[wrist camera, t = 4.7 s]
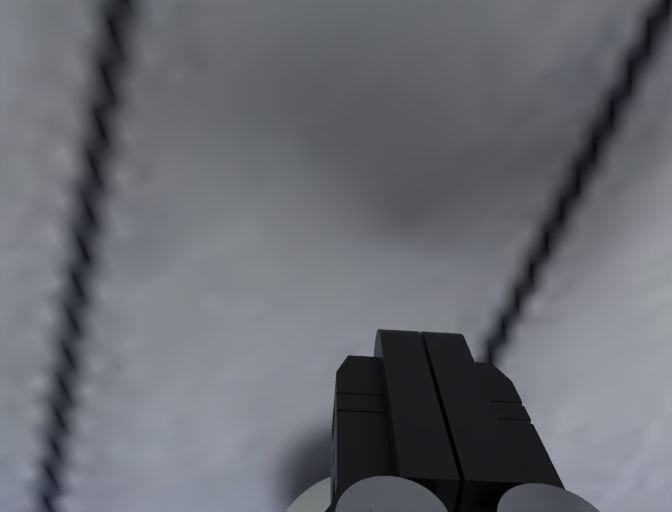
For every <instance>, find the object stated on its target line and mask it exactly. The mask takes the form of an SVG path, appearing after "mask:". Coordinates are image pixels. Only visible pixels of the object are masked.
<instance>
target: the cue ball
mask: <svg viewBox="0 0 672 512" xmlns="http://www.w3.org/2000/svg"><path fill="white" fill-rule="evenodd" d="M330 489H331V477H328V478H326V479H324V480H322V481H320V482H318V483H316V484H314V485H313V486H311V487H310V488H308V489H307V490H306V491H305V492H303V493H302V494H301V495H300V496H299V497H297V498H296V499H295V501H294V502H293V503H292V504H291V505H290V506H289V507H288V509H287V510H286V511H285V512H325V511H326V510H327V508H328V507H329V506H330Z"/></svg>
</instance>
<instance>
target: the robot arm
mask: <svg viewBox="0 0 672 512" xmlns="http://www.w3.org/2000/svg"><path fill="white" fill-rule="evenodd" d="M325 512H600V511H599V510H598V509H596V508H595V507H594V506H593V505H592V504H590V503H589V502H587V501H586V500H584V499H583V498H581V497H579V496H578V495H576V494H574V493H572V492H570V491H567V490H565V488H564V486H563V484H562V482H561V480H560V478H559V476H558V474H557V472H556V470H555V468H554V466H553V464H552V462H551V460H550V458H549V455H548V453H547V451H546V449H545V447H544V445H543V443H542V441H541V439H540V437H539V435H538V433H537V431H536V429H535V427H534V425H533V424H531V419H530V417H529V415H528V413H527V411H526V409H525V407H524V406H522V401H521V399H520V397H519V395H518V393H517V391H516V389H515V387H514V385H513V383H512V381H511V380H510V379H509V378H508V377H506V376H505V375H504V374H503V373H502V372H501V371H500V370H499V369H497V368H496V367H495V366H494V365H493V364H492V363H478V362H474V360H473V357H472V355H471V353H470V350H469V348H468V345H467V343H466V340H465V338H464V336H463V335H462V334H456V333H438V332H420V333H419V332H418V331H400V330H383V329H378V330H377V334H376V340H375V349H374V357H367V356H349V355H348V356H347V358H346V359H345V361H344V362H343V363H342V365H341V366H340V368H339V369H338V370H337V372H336V384H335V396H334V409H333V422H332V435H331V489H330V506H329V507H328V508H327V510H326V511H325Z"/></svg>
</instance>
